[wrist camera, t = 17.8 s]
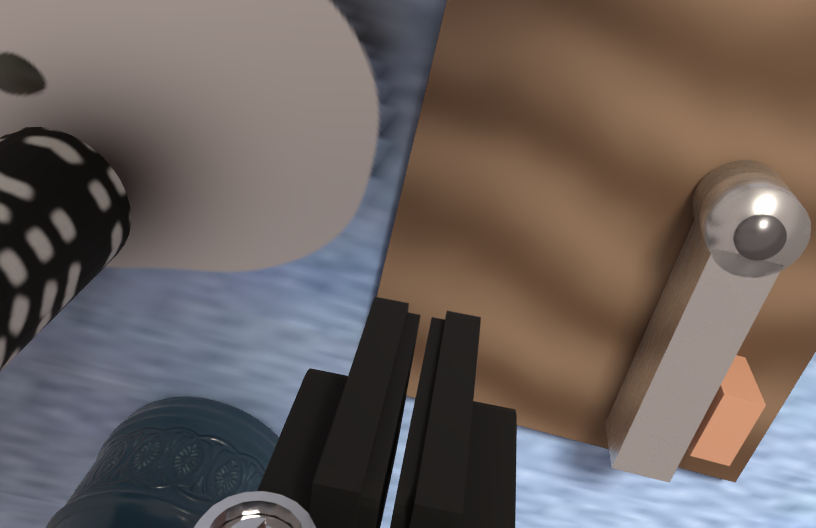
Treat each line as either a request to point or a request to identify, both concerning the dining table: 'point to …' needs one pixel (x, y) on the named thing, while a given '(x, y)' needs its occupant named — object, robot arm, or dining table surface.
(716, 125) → the brown wooden board
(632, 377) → the bar
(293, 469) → the robot arm
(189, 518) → the canister
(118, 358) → the dining table surface
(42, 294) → the white-spotted black cylinder
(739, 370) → the block
